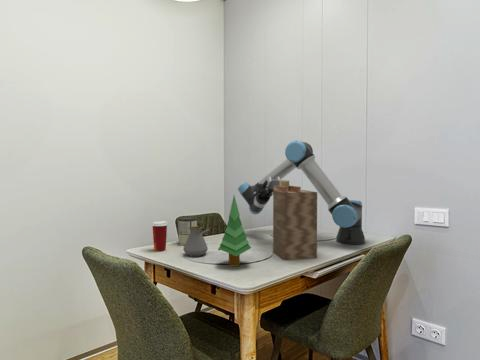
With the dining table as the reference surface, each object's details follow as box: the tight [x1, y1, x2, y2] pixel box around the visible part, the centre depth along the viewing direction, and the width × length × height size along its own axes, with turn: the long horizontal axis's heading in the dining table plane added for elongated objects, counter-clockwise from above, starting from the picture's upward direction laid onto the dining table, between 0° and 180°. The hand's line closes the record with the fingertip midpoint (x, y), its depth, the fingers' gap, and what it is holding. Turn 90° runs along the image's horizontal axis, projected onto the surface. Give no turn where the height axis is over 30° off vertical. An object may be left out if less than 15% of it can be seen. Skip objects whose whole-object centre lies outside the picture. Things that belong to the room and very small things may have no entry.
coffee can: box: [177, 216, 198, 247], centre depth 182 cm, size 10×10×14 cm
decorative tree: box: [217, 195, 252, 267], centre depth 142 cm, size 14×16×30 cm
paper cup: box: [151, 220, 168, 252], centre depth 168 cm, size 8×8×14 cm
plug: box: [265, 179, 290, 190], centre depth 168 cm, size 4×22×4 cm, turn 15°
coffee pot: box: [182, 220, 226, 257], centre depth 162 cm, size 21×12×15 cm, turn 119°
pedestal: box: [272, 184, 318, 261], centre depth 158 cm, size 16×14×32 cm
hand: (274, 179), depth 170 cm, fingers closed on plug, 4 cm apart
